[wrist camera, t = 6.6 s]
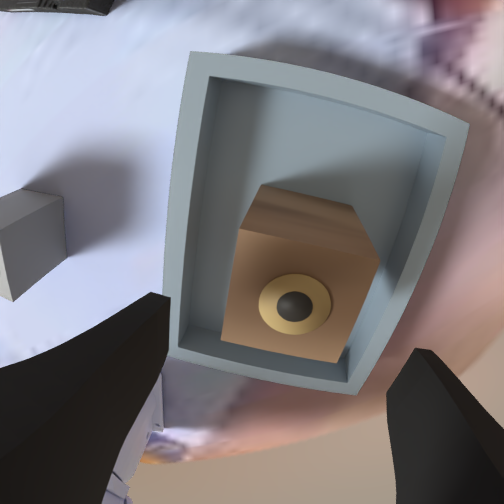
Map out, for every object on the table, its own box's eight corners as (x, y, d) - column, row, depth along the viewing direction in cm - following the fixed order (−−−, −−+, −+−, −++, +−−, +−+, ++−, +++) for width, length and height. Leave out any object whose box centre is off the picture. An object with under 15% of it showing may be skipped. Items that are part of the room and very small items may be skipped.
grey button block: (67, 257, 20) (12, 303, 14) (26, 244, 20) (-27, 281, 14) (63, 196, 18) (-3, 231, 12) (20, 188, 18) (-41, 218, 12)
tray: (351, 362, 20) (356, 395, 17) (177, 324, 20) (161, 354, 18) (442, 120, 13) (469, 123, 10) (209, 61, 13) (190, 51, 11)
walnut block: (327, 284, 17) (336, 365, 11) (245, 266, 17) (219, 342, 11) (351, 205, 15) (381, 262, 9) (261, 184, 15) (238, 230, 9)
